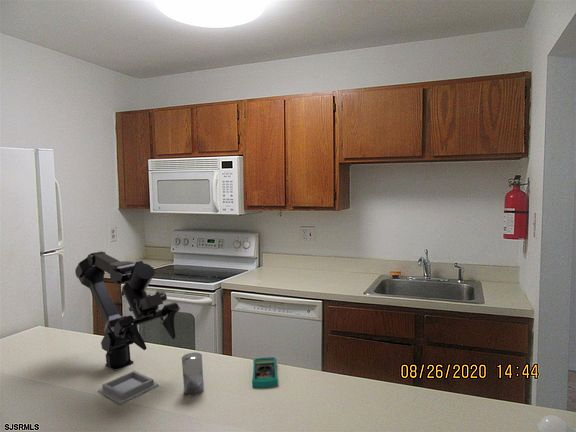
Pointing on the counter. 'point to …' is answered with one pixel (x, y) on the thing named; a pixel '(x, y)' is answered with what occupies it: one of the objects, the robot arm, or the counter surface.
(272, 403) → the counter surface
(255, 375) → the digital multimeter
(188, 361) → the metal cylinder
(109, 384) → the holder
